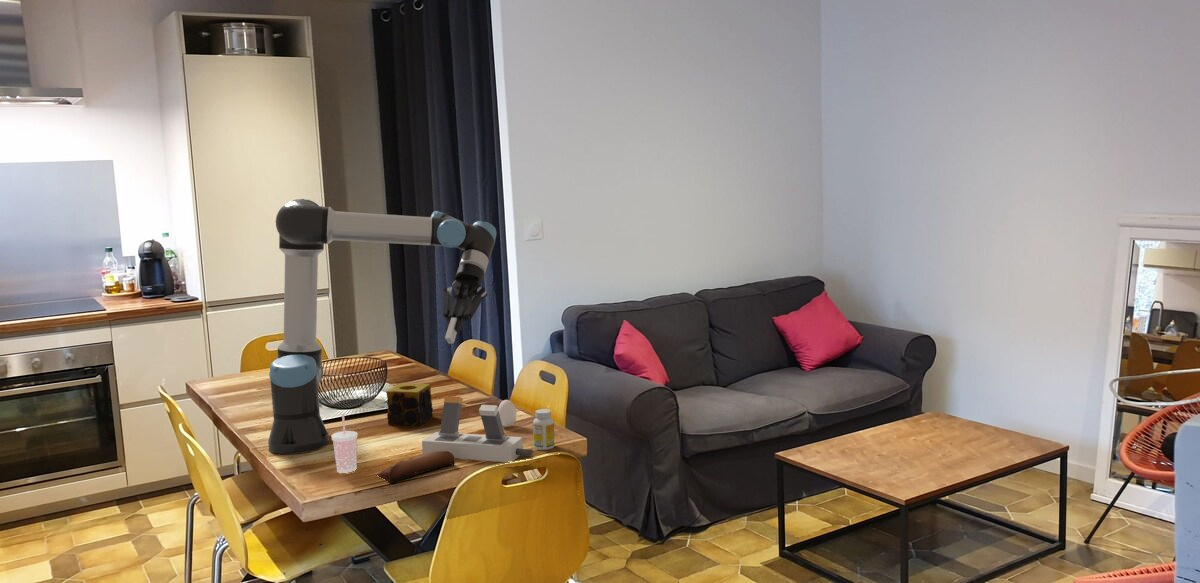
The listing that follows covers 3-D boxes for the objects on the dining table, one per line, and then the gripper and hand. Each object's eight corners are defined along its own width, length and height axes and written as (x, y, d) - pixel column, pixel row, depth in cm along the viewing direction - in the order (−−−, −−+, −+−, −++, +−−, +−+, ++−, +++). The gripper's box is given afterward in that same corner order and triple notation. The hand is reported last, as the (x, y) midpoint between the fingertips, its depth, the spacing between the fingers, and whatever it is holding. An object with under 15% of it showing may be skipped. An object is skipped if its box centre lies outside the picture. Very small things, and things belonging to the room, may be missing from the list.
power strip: (422, 456, 229) (421, 440, 228) (437, 446, 236) (436, 431, 236) (526, 463, 221) (525, 447, 220) (537, 453, 228) (537, 437, 228)
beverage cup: (330, 469, 220) (326, 413, 218) (355, 464, 224) (351, 409, 222) (337, 476, 215) (333, 419, 213) (363, 471, 218) (359, 415, 216)
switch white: (488, 435, 228) (479, 404, 223) (507, 436, 227) (499, 405, 222) (485, 440, 227) (476, 410, 221) (504, 442, 225) (496, 411, 220)
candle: (420, 426, 255) (418, 392, 254) (386, 425, 257) (384, 391, 256) (433, 416, 265) (432, 383, 264) (401, 415, 267) (399, 382, 266)
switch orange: (440, 436, 232) (446, 397, 234) (459, 437, 230) (464, 398, 233) (437, 434, 230) (442, 396, 233) (455, 436, 228) (461, 396, 231)
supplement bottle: (534, 450, 231) (532, 414, 229) (533, 444, 236) (532, 408, 234) (555, 449, 231) (553, 413, 230) (554, 443, 236) (552, 407, 235)
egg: (509, 430, 249) (507, 403, 248) (493, 427, 252) (492, 401, 251) (520, 425, 253) (519, 398, 252) (505, 423, 256) (504, 396, 255)
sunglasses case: (435, 457, 227) (442, 438, 224) (450, 476, 223) (457, 457, 220) (372, 476, 214) (378, 456, 211) (387, 497, 211) (393, 476, 207)
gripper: (497, 278, 253) (476, 349, 240) (455, 278, 257) (432, 348, 243) (489, 261, 247) (466, 333, 234) (445, 261, 251) (421, 332, 238)
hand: (449, 340), depth 239 cm, fingers closed
